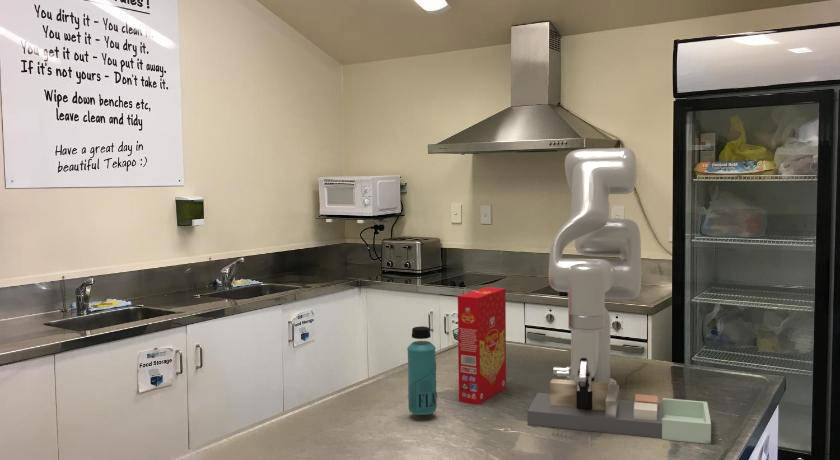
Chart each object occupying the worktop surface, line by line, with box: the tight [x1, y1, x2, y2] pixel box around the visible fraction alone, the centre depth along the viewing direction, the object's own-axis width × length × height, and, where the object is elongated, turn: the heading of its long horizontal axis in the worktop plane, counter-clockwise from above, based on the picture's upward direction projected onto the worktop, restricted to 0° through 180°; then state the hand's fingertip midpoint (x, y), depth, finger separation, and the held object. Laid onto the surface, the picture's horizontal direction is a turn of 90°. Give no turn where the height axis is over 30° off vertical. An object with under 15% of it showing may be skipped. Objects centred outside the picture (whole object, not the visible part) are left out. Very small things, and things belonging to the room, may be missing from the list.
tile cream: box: [634, 402, 657, 421], centre depth 145 cm, size 4×4×2 cm
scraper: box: [549, 378, 620, 418], centre depth 152 cm, size 14×12×5 cm
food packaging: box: [457, 286, 507, 406], centre depth 170 cm, size 15×5×25 cm, turn 148°
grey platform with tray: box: [526, 392, 712, 445], centre depth 150 cm, size 36×14×4 cm, turn 71°
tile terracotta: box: [634, 393, 659, 404], centre depth 151 cm, size 4×4×2 cm
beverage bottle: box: [406, 325, 438, 416], centre depth 155 cm, size 6×7×20 cm
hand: (586, 403), depth 152 cm, fingers open, 6 cm apart
